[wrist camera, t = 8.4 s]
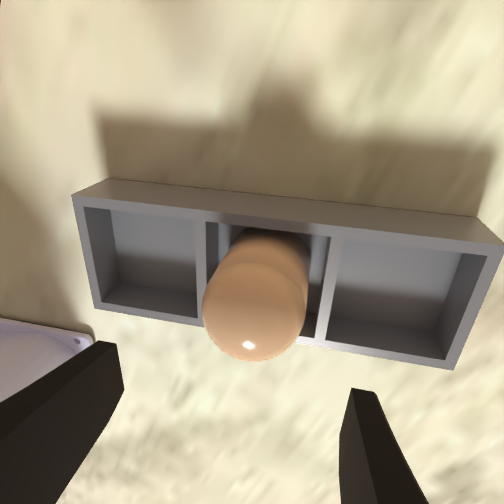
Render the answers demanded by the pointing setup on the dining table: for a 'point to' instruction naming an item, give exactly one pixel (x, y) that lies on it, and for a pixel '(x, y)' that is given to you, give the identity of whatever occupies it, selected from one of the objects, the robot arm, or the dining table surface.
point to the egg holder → (321, 271)
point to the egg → (258, 295)
